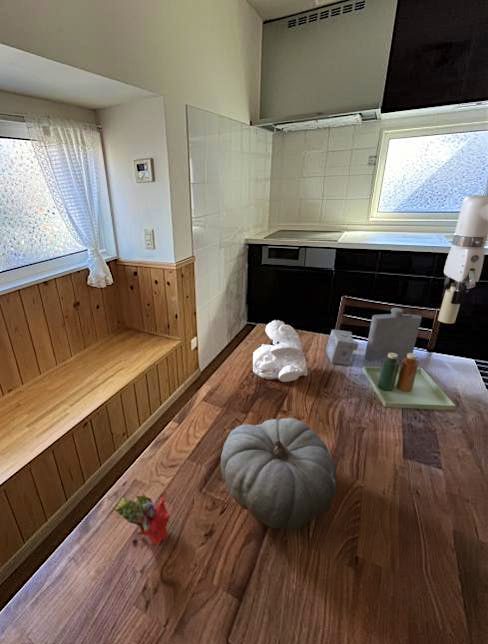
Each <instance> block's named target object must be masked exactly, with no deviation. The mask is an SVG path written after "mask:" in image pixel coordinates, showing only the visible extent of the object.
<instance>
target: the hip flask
mask: <svg viewBox="0 0 488 644" xmlns="http://www.w3.org/2000/svg"><path fill="white" fill-rule="evenodd" d="M390 312H391V313H384V314H373V315H372V316H371V322H370V327H369V333H368V338H367V344H366V348H365V354H364V359H365V360H367V361H371V362H372V361H383V360H384V358H388V353H396V354H397V355H398V357H397V360H398V361H402V360H403V359H404V358H407V354H408V353H414V349H415V345H416V341H417V338H418V334H419V330H420V326H421V322H422V318H423V317H422V316H421V315H419V314H411V313H404V309H402V308H400V307H392V308H391V309H390Z"/></svg>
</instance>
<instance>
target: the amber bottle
mask: <svg viewBox="0 0 488 644" xmlns="http://www.w3.org/2000/svg"><path fill="white" fill-rule="evenodd" d="M417 359H418V355H417V354H416V353H414V352H413V353H408V354H407V358H404V359H403V360H401V364H400V372H399V376H398V380H397V384H396V388H397V389H398V390H400V391H403V392H411V391H412V388H413V385H414V381H415V377H416V373H417V370H418V368H419V367H420V361H418V360H417Z"/></svg>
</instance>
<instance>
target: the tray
mask: <svg viewBox="0 0 488 644" xmlns="http://www.w3.org/2000/svg"><path fill="white" fill-rule="evenodd" d="M400 368H401V366H399V368H398V372H397V376H396V381H395V385H394V389H393V391H383V390H381V389H380V388H379V387H378V383H379V378H380V373H381V369H382V366H362V369H361V371H362V372H363V375H364V376H365V377H366V380H367V381H368V382H369V384H370V386H371V387H372V389H373V390H374V392H375V394H376V396H377V397H378V399H379V401H380V403H381V404H382V406H383V407H384V408H395V409H421V410H442V411H443V410H444V411H455V409H456V407H457V405H456V404H455V403H454V402H453V401H452V400H451V399H450V397H448V395H447V394H446V392H444V391H443V389H441V387H439V385H438V384H437V383H436V382H435V381H434V380H433V379H432V377H431V376H430V375H429V374H428V373H427V372H426V371H425V370H424V369H423V368H422V367H418V370H417V373H416V377H415V381H414V385H413V388H412V391H411V392H403V391H400V390H398V389H397V388H396V384H397V380H398V376H399V372H400Z"/></svg>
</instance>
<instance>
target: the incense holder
mask: <svg viewBox="0 0 488 644" xmlns="http://www.w3.org/2000/svg"><path fill="white" fill-rule="evenodd" d="M329 334H330V335H329V338H328V341H327V344H326V347H325V352H326V354H327V357H328V359H329V362H330V363H331V364H337V365H344V366H352V365H353V361H352V356H353V354H354V351H356V350H357V349H358V347H359V342H357V341H356V340H354V339H353V337H352V335H353V332H352V331H349V330H348V331H347V330H340V329H334V328H333V329H331V331H330V333H329Z"/></svg>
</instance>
